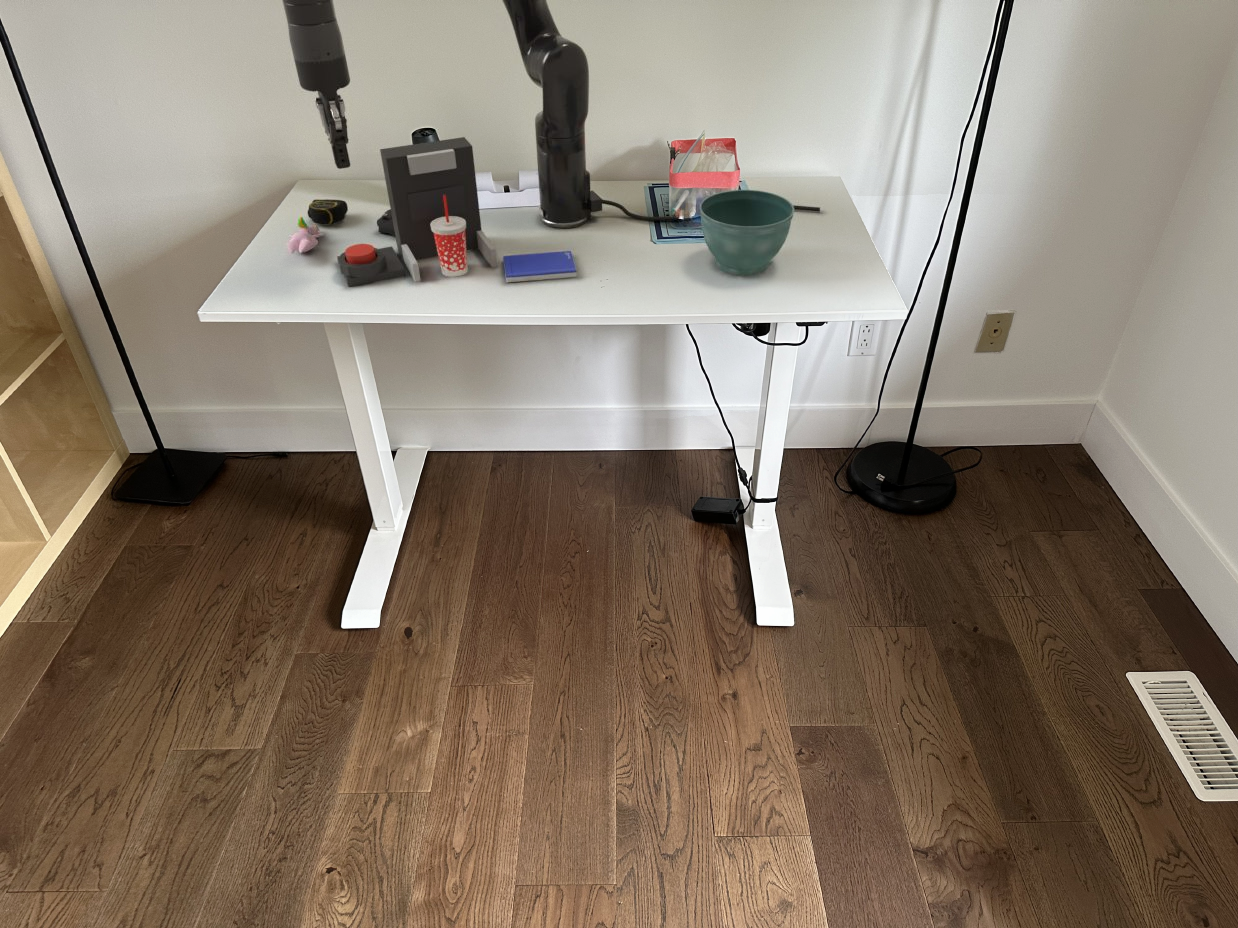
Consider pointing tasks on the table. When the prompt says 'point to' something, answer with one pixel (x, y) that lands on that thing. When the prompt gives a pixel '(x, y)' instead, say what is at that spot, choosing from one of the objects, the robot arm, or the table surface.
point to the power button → (360, 254)
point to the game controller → (386, 223)
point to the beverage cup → (450, 243)
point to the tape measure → (327, 211)
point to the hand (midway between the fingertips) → (343, 166)
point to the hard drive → (539, 266)
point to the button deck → (372, 268)
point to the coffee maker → (432, 197)
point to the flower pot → (745, 229)
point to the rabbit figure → (303, 238)
